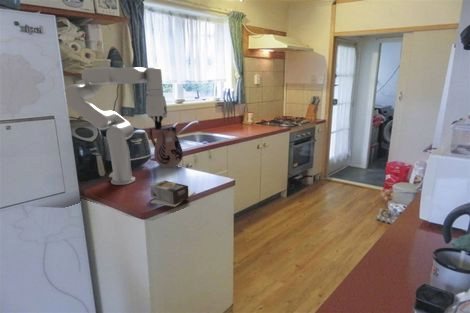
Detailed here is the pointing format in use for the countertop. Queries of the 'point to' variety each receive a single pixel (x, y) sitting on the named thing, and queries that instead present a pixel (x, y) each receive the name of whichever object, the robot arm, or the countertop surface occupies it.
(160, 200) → the mat
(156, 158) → the ceramic pitcher
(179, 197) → the coffee box
